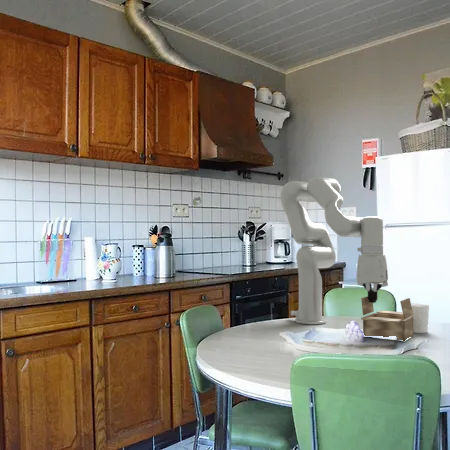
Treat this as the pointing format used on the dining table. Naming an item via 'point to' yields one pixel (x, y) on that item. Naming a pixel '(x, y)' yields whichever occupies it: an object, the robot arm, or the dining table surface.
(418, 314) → the white cup
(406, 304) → the flap
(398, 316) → the carton
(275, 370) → the dining table surface
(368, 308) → the flap
